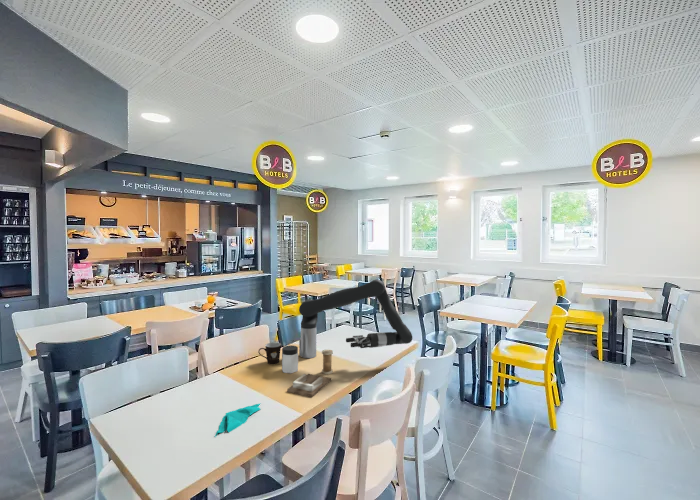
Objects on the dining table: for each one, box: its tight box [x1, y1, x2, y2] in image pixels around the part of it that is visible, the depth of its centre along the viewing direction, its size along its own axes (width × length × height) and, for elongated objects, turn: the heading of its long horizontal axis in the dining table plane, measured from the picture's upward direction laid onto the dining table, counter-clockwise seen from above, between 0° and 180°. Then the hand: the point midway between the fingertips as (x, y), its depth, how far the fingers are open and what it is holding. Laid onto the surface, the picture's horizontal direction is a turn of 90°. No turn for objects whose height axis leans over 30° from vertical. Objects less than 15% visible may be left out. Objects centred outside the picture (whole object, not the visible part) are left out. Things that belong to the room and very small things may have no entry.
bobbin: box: [321, 349, 334, 375], centre depth 176 cm, size 6×6×11 cm
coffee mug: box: [258, 342, 282, 365], centre depth 189 cm, size 12×9×10 cm
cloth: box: [214, 403, 262, 438], centre depth 131 cm, size 26×14×2 cm, turn 146°
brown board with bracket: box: [286, 373, 332, 398], centre depth 160 cm, size 13×19×4 cm
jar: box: [281, 344, 299, 374], centre depth 178 cm, size 9×8×12 cm
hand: (348, 342), depth 179 cm, fingers open, 8 cm apart
